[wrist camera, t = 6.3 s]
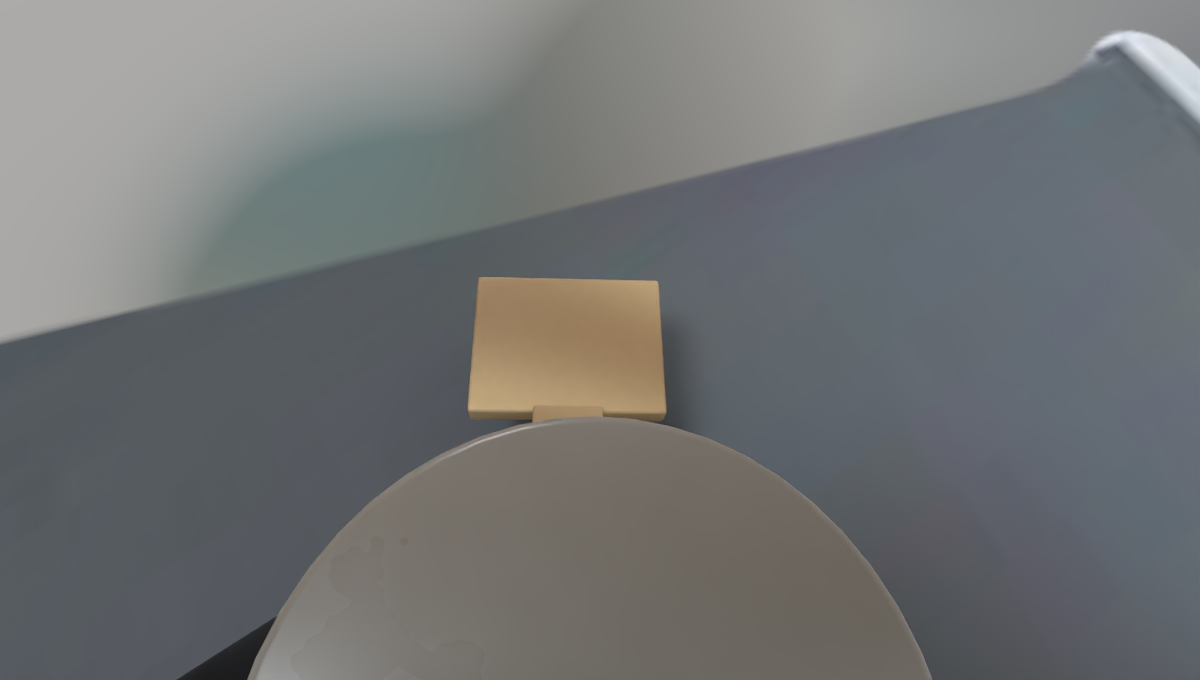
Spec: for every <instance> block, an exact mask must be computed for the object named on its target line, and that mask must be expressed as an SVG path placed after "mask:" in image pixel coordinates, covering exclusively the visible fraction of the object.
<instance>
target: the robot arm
mask: <svg viewBox="0 0 1200 680" xmlns="http://www.w3.org/2000/svg"><path fill="white" fill-rule="evenodd" d="M276 618H277V616H276V617H275V618H273V619H272V620H270V621H268V622H267V623H265V624H264V625H262V626H261V627H259V628H257V629H256V630H254V631H253V632H251V633H250V634H248V635H246V636H245V637H243V638H242V639H240V640H238V641H237V642H235V643H234V644H232V645H231V646H229V647H227V648H226V649H224V650H223V651H221V652H220V653H218V654H216V655H215V656H213V657H212V658H210V659H208V660H207V661H205V662H204V663H202V664H201V665H199V666H197V667H196V668H194V669H193V670H191V671H190V672H188V673H186V674H185V675H183V676H182V677H180V678H178V679H177V680H247V679H248V677H249V674H250V671H251V669H252V666H253V664H254V661H255V658H256V656H257V654H258V652H259V651H260V649H261V647H262V645H263V643H264V641H265V639H266V637H267V635H268V633H269V631H270V629H271V627H272V625H273V623H274V621H275V620H276Z"/></svg>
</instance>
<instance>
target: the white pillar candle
mask: <svg viewBox="0 0 1200 680" xmlns="http://www.w3.org/2000/svg"><path fill="white" fill-rule="evenodd" d="M467 410H468V413H469V417H470V419H481V420H532V423H526V424H520V425H516V426H513V427H509V428H506V429H503V430H500V431H496V432H493V433H490V434H486V435H483V436H480V437H478V438H475V439H473V440H471V441H469V442H466V443H464V444H462V445H459V446H457V447H455V448H453V449H450V450H448V451H446V452H444V453H442V454H440V455H438V456H437V457H435V458H433V459H431V460H430V461H428V462H426V463H425V464H423V465H421V466H420V467H418V468H416V469H415V470H413V471H411V472H409V473H408V474H406V475H405V476H404V477H402V478H401V479H400V480H398V481H397V482H396V483H394V484H393V485H392V486H390V487H389V488H388V489H386V490H385V491H384V492H382V493H381V494H380V495H378V496H377V497H376V498H375V499H373V500H372V501H371V502H370V503H369V504H368V505H367V506H366V507H364V508H363V509H362V510H361V511H360V512H359V513H358V514H357V515H356V516H355V517H354V518H353V519H352V520H351V521H350V522H349V523H348V524H347V525H346V526H345V527H344V528H343V529H341V530H340V531H339V532H338V534H337V535H336V536H335V537H334V538H333V539H332V541H331V542H330V543H329V544H328V545H327V547H326V548H325V549H324V550H323V551H322V553H321V554H320V555H319V556H318V557H317V559H316V560H315V561H314V562H313V563H312V565H311V566H310V567H309V568H308V569H307V571H306V572H305V574H304V575H303V577H302V579H301V580H300V582H299V583H298V585H297V586H296V588H295V589H294V591H293V592H292V594H291V595H290V597H289V598H288V600H287V601H286V603H285V604H284V606H283V607H282V609H281V610H280V612H279V614H278V616H277V618H276V620H275V621H274V623H273V625H272V627H271V629H270V631H269V633H268V635H267V637H266V639H265V641H264V643H263V645H262V647H261V649H260V651H259V652H258V654H257V656H256V658H255V661H254V664H253V666H252V669H251V671H250V674H249V677H248V679H247V680H932V677H931V675H930V672H929V670H928V667H927V665H926V662H925V660H924V657H923V654H922V652H921V650H920V648H919V646H918V644H917V642H916V640H915V638H914V636H913V634H912V632H911V630H910V628H909V626H908V625H907V623H906V621H905V619H904V617H903V615H902V613H901V611H900V609H899V607H898V606H897V604H896V603H895V601H894V599H893V598H892V596H891V595H890V593H889V592H888V590H887V589H886V587H885V586H884V584H883V583H882V581H881V580H880V578H879V577H878V575H877V574H876V572H875V571H874V569H873V568H872V566H871V565H870V564H869V563H868V561H867V560H866V559H865V558H864V557H863V555H862V554H861V553H860V552H859V551H858V549H857V548H856V547H855V546H854V544H853V543H852V542H851V541H850V540H849V538H848V537H847V536H846V535H845V533H844V532H843V531H842V530H841V529H840V528H839V527H838V526H836V525H835V524H834V523H833V522H832V521H831V520H830V519H829V518H828V517H827V516H826V515H825V514H824V513H823V512H822V511H821V510H820V509H819V508H818V507H817V506H816V505H815V504H814V503H813V502H812V501H810V500H809V499H808V498H807V497H805V496H804V495H803V494H801V493H800V492H799V491H798V490H796V489H795V488H794V487H793V486H791V485H790V484H789V483H787V482H786V481H785V480H784V479H782V478H781V477H780V476H778V475H776V474H775V473H773V472H772V471H770V470H768V469H767V468H765V467H763V466H762V465H760V464H758V463H757V462H755V461H754V460H752V459H750V458H749V457H747V456H745V455H743V454H741V453H739V452H737V451H735V450H733V449H730V448H728V447H726V446H724V445H722V444H720V443H717V442H715V441H713V440H711V439H709V438H706V437H703V436H700V435H696V434H693V433H690V432H687V431H684V430H681V429H678V428H675V427H672V426H667V425H662V424H657V423H652V422H646V421H663V420H664V417H665V414H666V412H667V410H666V394H665V378H664V363H663V347H662V332H661V316H660V300H659V285H658V282H657V281H638V280H593V279H548V278H503V277H479V279H478V286H477V298H476V311H475V323H474V335H473V347H472V360H471V372H470V384H469V396H468V409H467Z"/></svg>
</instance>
